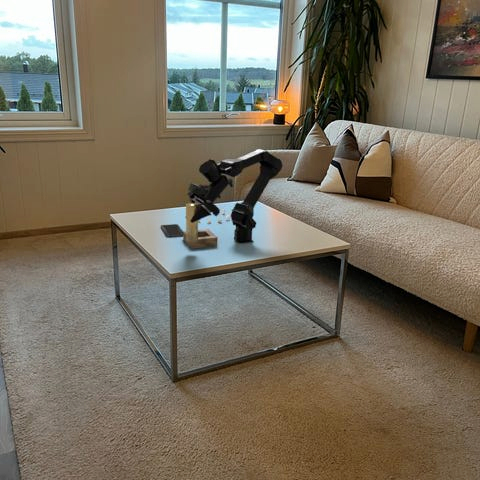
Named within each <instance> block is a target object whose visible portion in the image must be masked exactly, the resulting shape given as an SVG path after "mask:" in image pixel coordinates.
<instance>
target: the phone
mask: <svg viewBox="0 0 480 480" xmlns="http://www.w3.org/2000/svg"><path fill="white" fill-rule="evenodd" d="M160 229H161V230H162V233H164V235H165V237H166V238H178V237H181V238H183V229H182V228H181V227H180V225H179V224H176V223H174V224H172V223H171V224H161V225H160Z"/></svg>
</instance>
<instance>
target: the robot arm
mask: <svg viewBox="0 0 480 480" xmlns="http://www.w3.org/2000/svg"><path fill="white" fill-rule="evenodd" d="M255 164H259V175H258V177H257V178H256V180H255V181H254V182H253V185H252V186H251V187H250V190H248V191H249V192H248V193H247V195H246V196H245V198H244V200H243V201H241V202H236V203H235V205H234V207H233V208H232V209H231V213H230V220H231V222H232V225H233V226H235V229H234V230H233V231H234V233H233V234H234V237H233V240H234V241H236V242H237V243H238V244H245V243H247V244H249V243H254V240H253V229H255V228H256V227H257V222H256V220H255V219H254V218H253V217H254V216H255V215H254V214H255V212H254V211H255V209H254V208H255V207H256V205H257V203H258V201H259V199H260V198H261V196H262V194H263V193H264V191H265V189H266V188H267V186H268V184H269V182H270V181H271V180H272V179H273V178H274V177H277V176H278V174H279V173H280V172H281V171H282V169H283V163H282V160H281V159H280V158H278V157H276V156H274V155H273V154H271V153H270V152H269V151H268V150H266V149H260V148H258V149H256V150H254V151H252V152H249V153H246V154H245V155H242V156H240V157H237V158H228V159H223V160H221V161H220V163H216V160H215V159H212V158H209V159H208V160H206V161H205V162H203V163H202V164H200V165H199V169H198V171H199V173H200V175H202V176H203V177H204V178H205V179H206V180H207V181H208V182H209V184H204V185H203V184H201V183H200V184H196V183H193V182H190V184H189V186H188V188H187V189H188V190H187V191H188V193H187V195H186V196H187V197H189V203H196V204H198V210H197V211H196V213H195V214H194V216H193V217H192V219H191V220H190V222H191V223H193V222H195V221H198V220H200V219H201V220H202V219H204V218H207V217H209V216H215V217H218V216H219V215H220V214H221V210H220V208H219V207H218V206H217V205H216V204H215V201H216V200H217V199H219V200H221V197H222V196H221V195H222V194H223V192H224V191H225V190H226V188H228V187H230V188H233V187H234V185H233V183H234V182H233V181H234V180H233V179H231V178H236V177H237V176H239V175H240V174H241V173H242V172H243V170H244V169H246V168H249V167H251V166H253V165H255ZM230 177H231V178H230ZM185 219H186V216H185ZM201 220H200V221H201ZM198 222H199V221H198Z"/></svg>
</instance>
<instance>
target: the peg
mask: <svg viewBox="0 0 480 480" xmlns="http://www.w3.org/2000/svg"><path fill="white" fill-rule="evenodd" d="M197 210H198V204H196V203H190V202H189V203H186V204H185V217H186V218H185V226H186V227H185V228H186V229H185V231H186V239H187V241H188V242H196V241H198V230H199V221H195V222H193V223H191V222H190V220H191V219H192V217H193V216H194V214H195V213H196V211H197Z"/></svg>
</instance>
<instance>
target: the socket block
mask: <svg viewBox="0 0 480 480" xmlns="http://www.w3.org/2000/svg"><path fill="white" fill-rule="evenodd" d="M182 231H183V230H182ZM182 239H183V241H184V242H185V244H187V246H188V247H189V248H190V249H197V248H207V247H208V248H209V247H217V246H218V236H217V235H216V234H214V232H212V231H211V230H210V229H209V228H205V229H198V241H196V242H188V241H187V239H186V230H185V231H183V236H182Z"/></svg>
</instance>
